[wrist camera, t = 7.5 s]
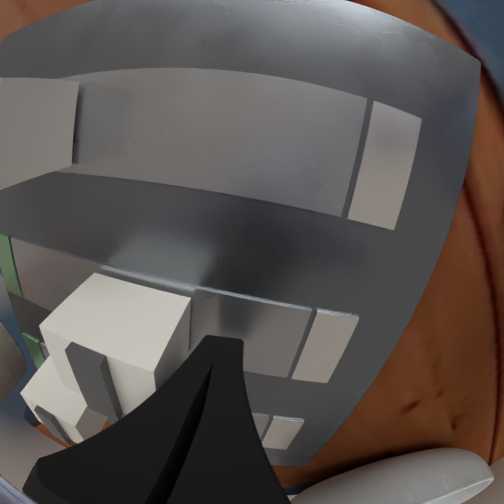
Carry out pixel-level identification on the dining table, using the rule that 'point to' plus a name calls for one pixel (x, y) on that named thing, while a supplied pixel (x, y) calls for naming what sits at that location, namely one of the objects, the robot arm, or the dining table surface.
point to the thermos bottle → (9, 363)
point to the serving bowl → (406, 480)
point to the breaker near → (35, 127)
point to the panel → (249, 184)
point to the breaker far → (60, 406)
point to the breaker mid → (117, 342)
